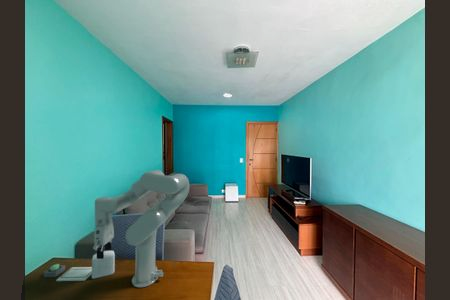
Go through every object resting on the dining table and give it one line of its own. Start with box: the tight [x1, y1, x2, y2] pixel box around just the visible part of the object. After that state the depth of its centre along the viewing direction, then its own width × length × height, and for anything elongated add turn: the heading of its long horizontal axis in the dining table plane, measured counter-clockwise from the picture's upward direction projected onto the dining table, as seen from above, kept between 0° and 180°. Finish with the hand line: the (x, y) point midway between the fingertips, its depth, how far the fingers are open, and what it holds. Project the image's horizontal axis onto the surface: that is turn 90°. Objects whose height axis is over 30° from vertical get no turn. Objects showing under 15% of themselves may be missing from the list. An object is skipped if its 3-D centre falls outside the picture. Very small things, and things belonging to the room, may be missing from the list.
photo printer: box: [91, 250, 116, 279], centre depth 97 cm, size 10×4×12 cm, turn 116°
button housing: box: [43, 264, 66, 278], centre depth 98 cm, size 6×6×2 cm
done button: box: [49, 263, 60, 272], centre depth 98 cm, size 4×4×2 cm
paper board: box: [56, 266, 92, 282], centre depth 97 cm, size 14×10×1 cm
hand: (104, 254), depth 97 cm, fingers open, 6 cm apart
